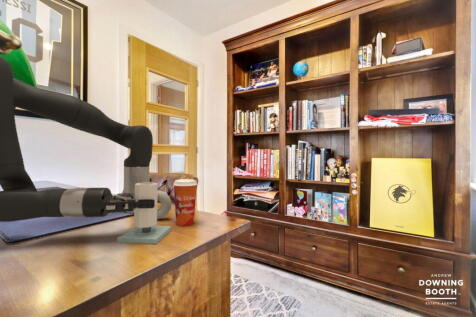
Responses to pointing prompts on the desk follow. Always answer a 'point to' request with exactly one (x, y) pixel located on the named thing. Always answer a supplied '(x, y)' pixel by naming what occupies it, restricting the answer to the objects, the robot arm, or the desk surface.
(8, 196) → the robot arm
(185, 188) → the paper cup
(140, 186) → the white octagonal tube
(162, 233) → the peg stand
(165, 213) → the donut
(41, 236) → the desk surface
